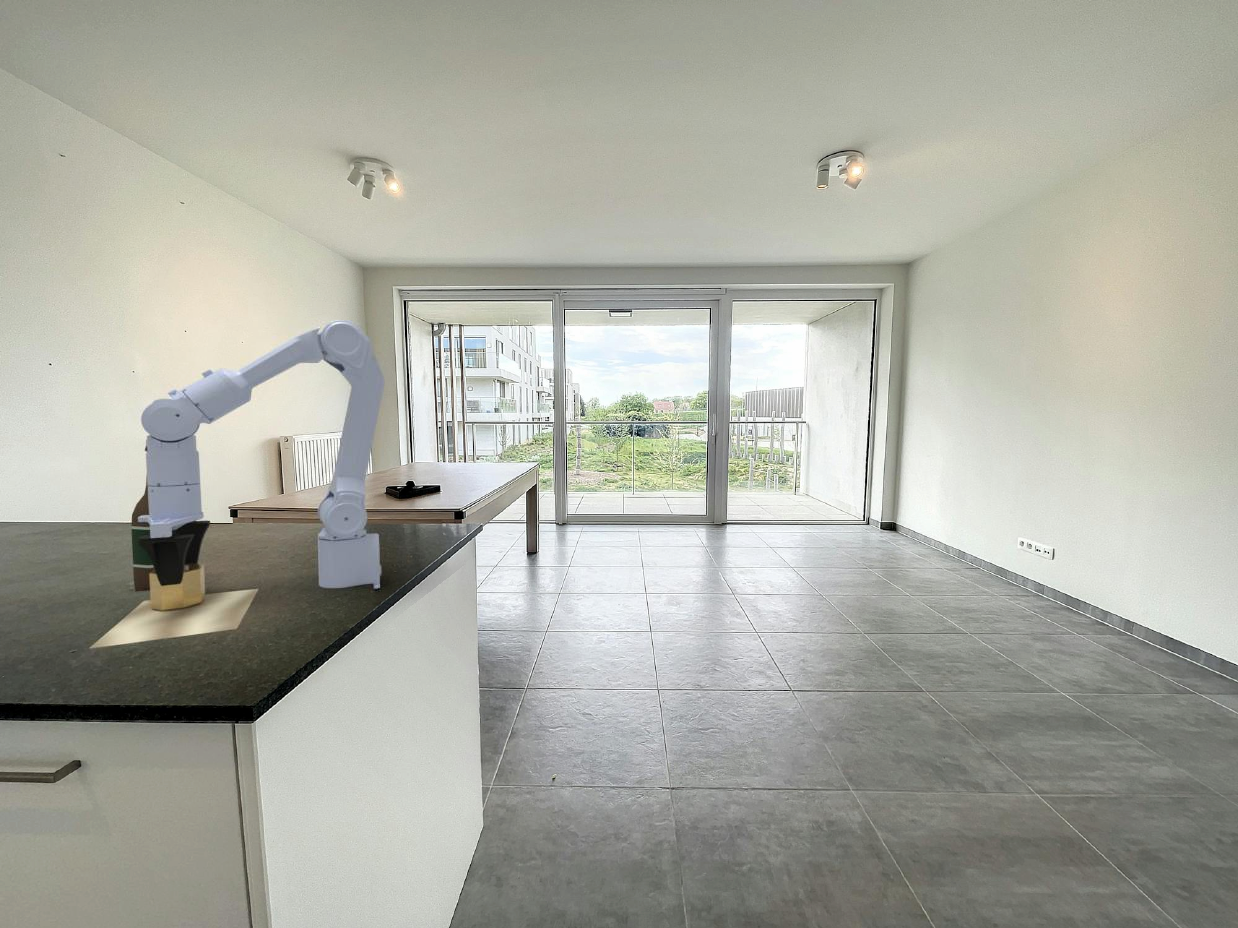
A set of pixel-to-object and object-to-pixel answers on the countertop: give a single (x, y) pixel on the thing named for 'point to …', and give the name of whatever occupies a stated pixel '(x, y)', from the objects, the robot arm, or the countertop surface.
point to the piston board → (180, 619)
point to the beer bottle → (140, 557)
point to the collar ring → (179, 589)
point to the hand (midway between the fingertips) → (179, 576)
